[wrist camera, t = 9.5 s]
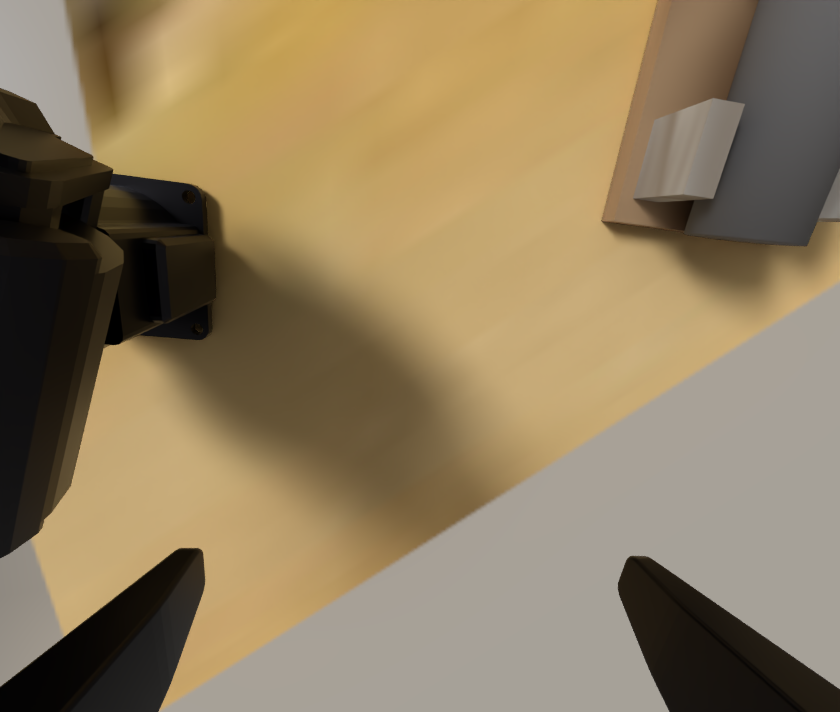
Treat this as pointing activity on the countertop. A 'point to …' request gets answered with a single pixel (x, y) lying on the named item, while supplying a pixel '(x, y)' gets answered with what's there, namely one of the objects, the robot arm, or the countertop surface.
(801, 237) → the gray rod with block
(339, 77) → the countertop surface
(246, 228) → the countertop surface
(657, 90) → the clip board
